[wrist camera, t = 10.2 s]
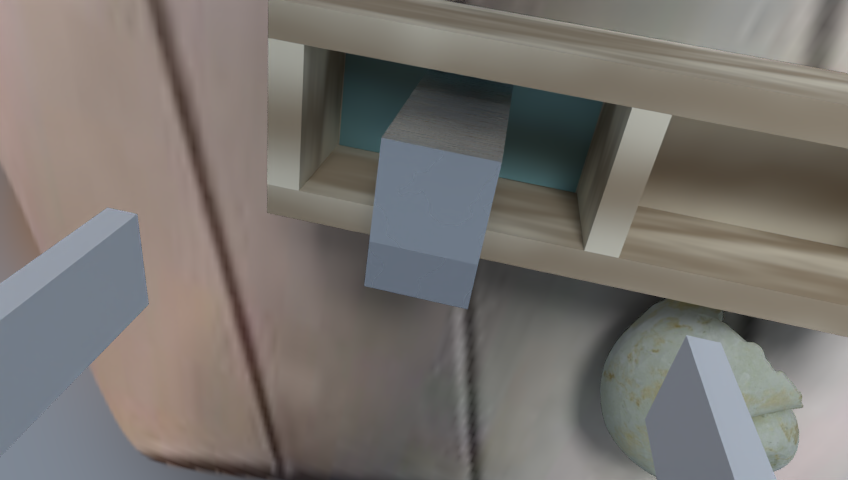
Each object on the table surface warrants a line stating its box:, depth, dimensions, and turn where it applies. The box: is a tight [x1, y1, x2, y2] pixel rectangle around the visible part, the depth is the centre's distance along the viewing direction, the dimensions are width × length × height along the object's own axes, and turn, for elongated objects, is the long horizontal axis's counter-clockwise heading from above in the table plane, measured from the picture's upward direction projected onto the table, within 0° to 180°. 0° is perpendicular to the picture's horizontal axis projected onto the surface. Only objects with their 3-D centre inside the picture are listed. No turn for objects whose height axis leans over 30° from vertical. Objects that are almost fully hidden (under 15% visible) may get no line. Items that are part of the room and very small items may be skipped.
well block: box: [267, 0, 848, 337], centre depth 27 cm, size 10×30×7 cm, turn 82°
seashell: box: [600, 298, 803, 476], centre depth 33 cm, size 13×8×10 cm
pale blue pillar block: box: [364, 69, 513, 309], centre depth 25 cm, size 6×4×11 cm, turn 172°
